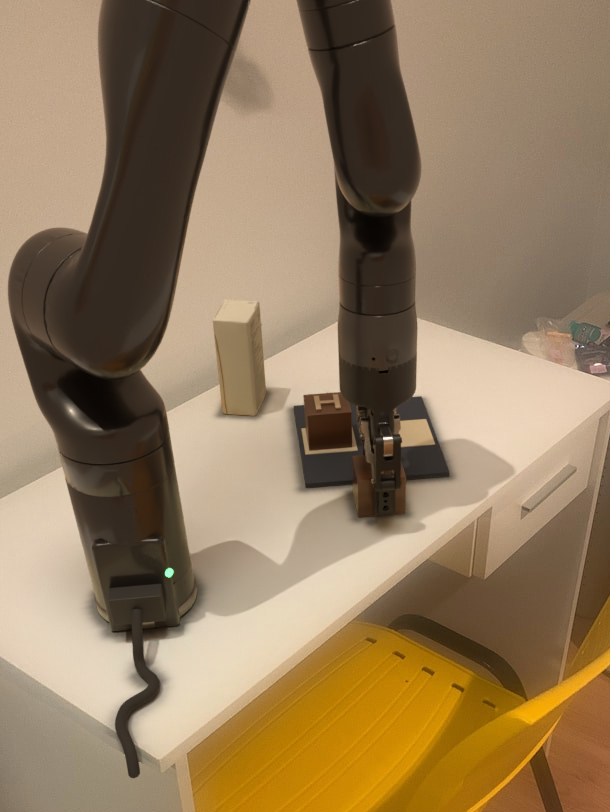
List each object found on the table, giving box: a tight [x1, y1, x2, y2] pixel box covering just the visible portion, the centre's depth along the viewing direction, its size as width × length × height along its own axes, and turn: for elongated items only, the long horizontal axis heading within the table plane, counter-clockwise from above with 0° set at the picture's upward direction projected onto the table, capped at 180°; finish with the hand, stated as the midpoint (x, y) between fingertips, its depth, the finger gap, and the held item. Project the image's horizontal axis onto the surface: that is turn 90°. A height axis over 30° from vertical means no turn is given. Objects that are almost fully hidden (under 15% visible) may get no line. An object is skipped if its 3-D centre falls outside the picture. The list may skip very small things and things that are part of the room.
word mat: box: [293, 396, 450, 489], centre depth 112 cm, size 18×16×1 cm
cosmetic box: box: [212, 298, 267, 417], centre depth 116 cm, size 6×4×12 cm
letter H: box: [303, 391, 352, 451], centre depth 110 cm, size 5×5×5 cm
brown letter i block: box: [352, 455, 407, 518], centre depth 101 cm, size 5×5×5 cm
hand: (378, 493), depth 102 cm, fingers open, 7 cm apart
